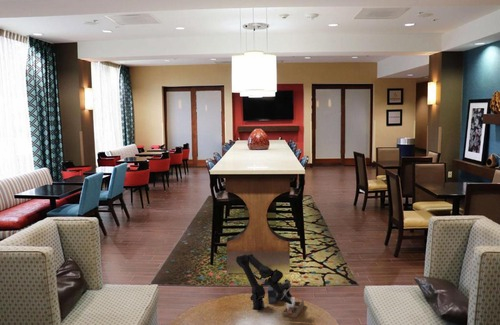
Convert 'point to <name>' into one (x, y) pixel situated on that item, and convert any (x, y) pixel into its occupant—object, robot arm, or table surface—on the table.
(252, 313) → the table surface
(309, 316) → the table surface
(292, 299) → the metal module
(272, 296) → the small box
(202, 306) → the table surface
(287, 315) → the divided wooden tray
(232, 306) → the table surface
